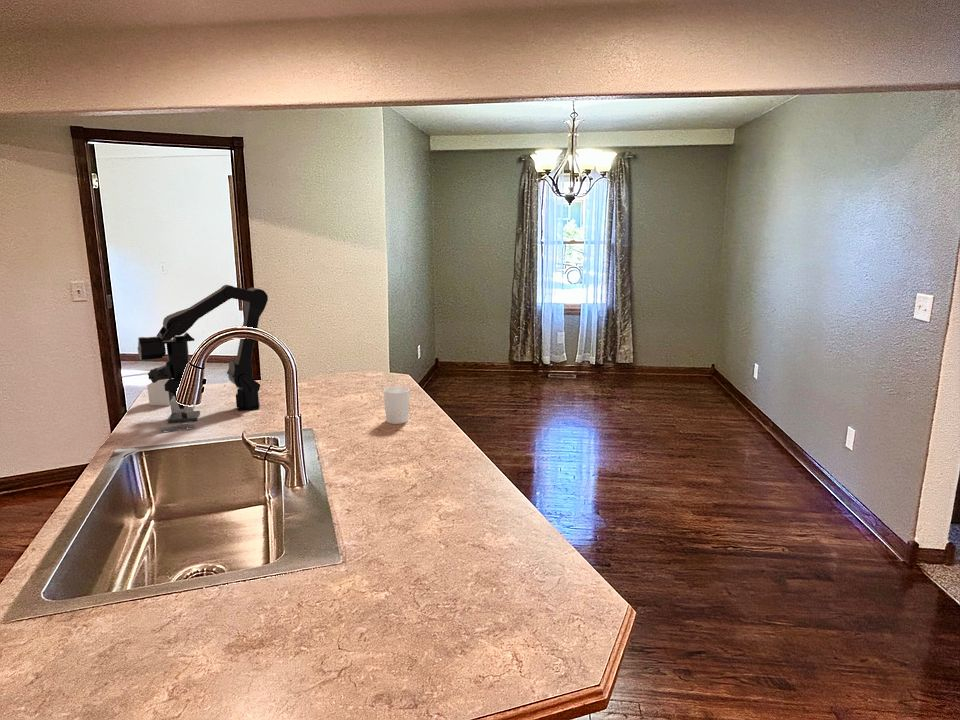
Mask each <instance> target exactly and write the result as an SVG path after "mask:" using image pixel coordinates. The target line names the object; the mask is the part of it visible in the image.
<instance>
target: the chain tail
mask: <svg viewBox="0 0 960 720" xmlns="http://www.w3.org/2000/svg"><path fill="white" fill-rule="evenodd" d="M194 427H195V422H192V423H191V422H189V423H185V424H176V425H174V424H173V425H168V426H166V425H165V426H160V427H159V431H160V432H162V433H165V432H164V431H170V432H174V431H178V430H177V429H181V430H183V429H186V430H188V429H187V428H194ZM194 429H195V428H194Z"/></svg>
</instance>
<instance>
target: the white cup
mask: <svg viewBox="0 0 960 720" xmlns="http://www.w3.org/2000/svg"><path fill="white" fill-rule="evenodd" d="M383 401H384V402H383V403H384V411H385V420H386V423H388V424H391V425H392V424H394V425H401V424H406V423H407V422H409V412H410V411H409V410H410V388H409V387H407V386H401V385H397V386H395V385H394V386H387V387H386V388H385V387H384V389H383Z"/></svg>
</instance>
